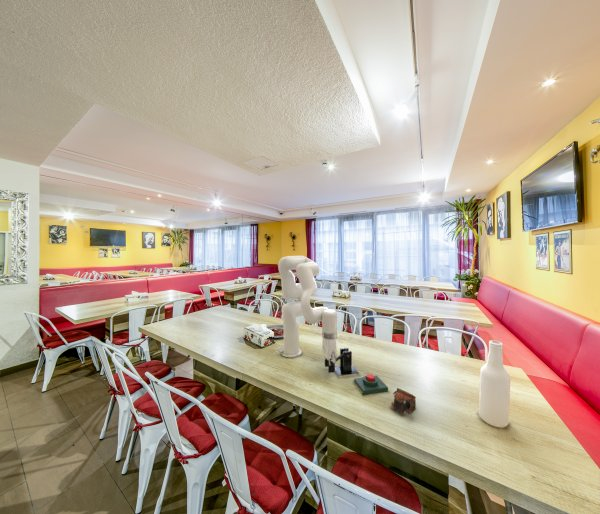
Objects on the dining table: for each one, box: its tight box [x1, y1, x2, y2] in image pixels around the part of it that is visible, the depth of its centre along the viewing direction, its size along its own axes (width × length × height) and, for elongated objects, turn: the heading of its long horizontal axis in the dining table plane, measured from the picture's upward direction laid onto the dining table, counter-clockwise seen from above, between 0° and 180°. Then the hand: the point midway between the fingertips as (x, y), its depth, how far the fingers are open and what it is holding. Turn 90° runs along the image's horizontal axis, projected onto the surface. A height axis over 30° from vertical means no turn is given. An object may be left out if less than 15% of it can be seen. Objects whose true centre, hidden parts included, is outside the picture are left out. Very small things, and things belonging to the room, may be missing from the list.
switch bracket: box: [335, 347, 360, 377], centre depth 125 cm, size 11×9×12 cm
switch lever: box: [327, 350, 347, 365], centre depth 124 cm, size 12×5×2 cm, turn 100°
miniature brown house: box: [390, 387, 417, 416], centre depth 96 cm, size 12×10×8 cm
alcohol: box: [478, 339, 511, 428], centre depth 90 cm, size 9×9×30 cm
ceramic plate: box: [266, 324, 284, 339], centre depth 181 cm, size 26×26×3 cm
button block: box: [353, 374, 389, 396], centre depth 112 cm, size 12×10×4 cm
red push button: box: [366, 373, 376, 382], centre depth 112 cm, size 4×4×2 cm
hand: (329, 368), depth 123 cm, fingers closed on switch lever, 5 cm apart
